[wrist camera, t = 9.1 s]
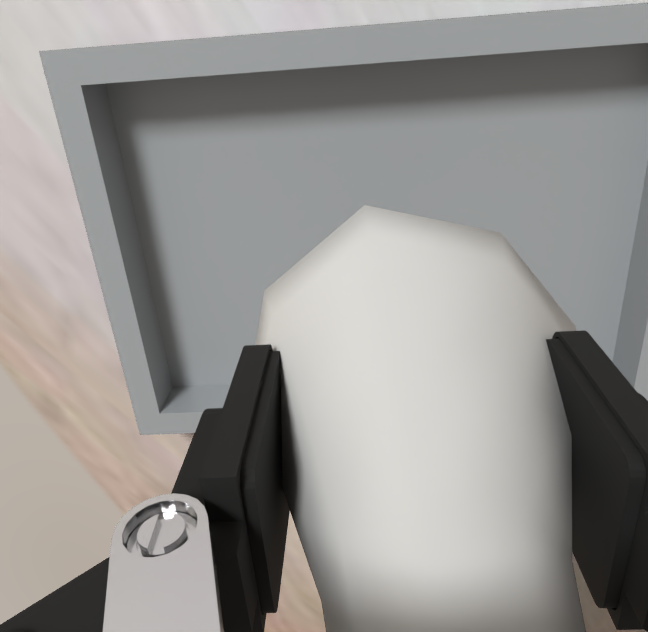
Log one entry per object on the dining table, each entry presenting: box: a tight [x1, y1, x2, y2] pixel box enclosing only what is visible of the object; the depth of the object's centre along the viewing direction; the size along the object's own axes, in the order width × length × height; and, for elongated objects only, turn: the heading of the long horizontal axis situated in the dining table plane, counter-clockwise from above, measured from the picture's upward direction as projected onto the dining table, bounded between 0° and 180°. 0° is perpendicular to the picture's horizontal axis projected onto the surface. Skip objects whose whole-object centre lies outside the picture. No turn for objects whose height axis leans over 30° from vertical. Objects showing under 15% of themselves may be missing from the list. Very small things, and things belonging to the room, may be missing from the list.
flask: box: [255, 205, 586, 632], centre depth 9 cm, size 7×7×10 cm
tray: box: [39, 3, 648, 435], centre depth 20 cm, size 14×20×2 cm
